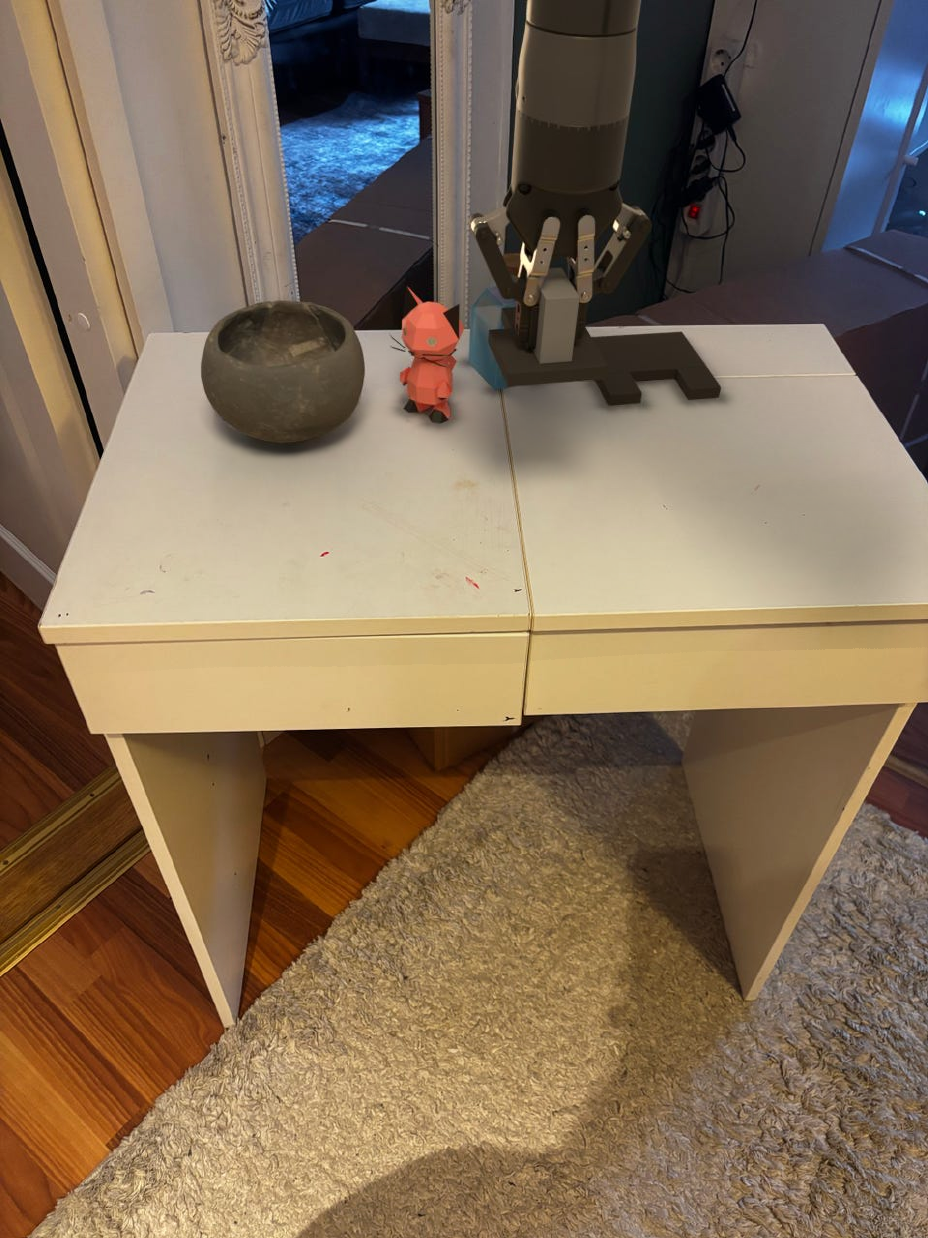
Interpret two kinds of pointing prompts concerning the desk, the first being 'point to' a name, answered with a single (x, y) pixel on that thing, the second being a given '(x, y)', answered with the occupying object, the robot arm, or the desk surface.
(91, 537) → the desk surface
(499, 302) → the perfume bottle
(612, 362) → the notch pad
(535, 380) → the tab pad
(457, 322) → the cat figurine
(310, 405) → the bowl
